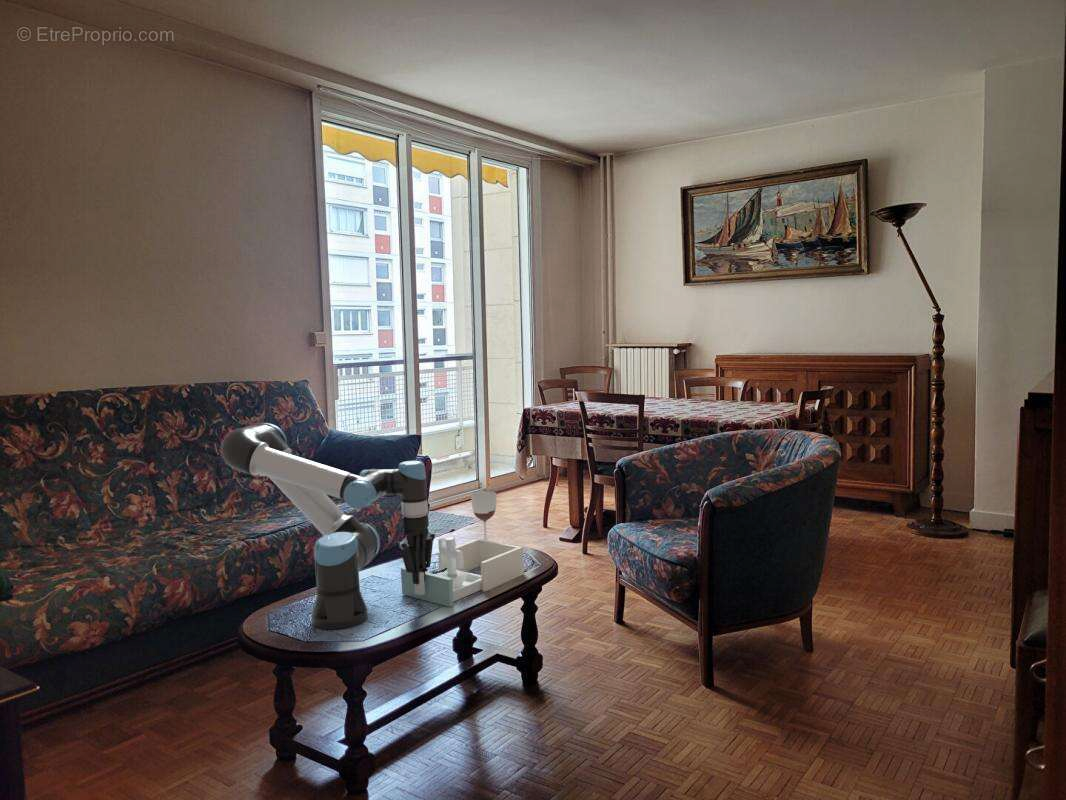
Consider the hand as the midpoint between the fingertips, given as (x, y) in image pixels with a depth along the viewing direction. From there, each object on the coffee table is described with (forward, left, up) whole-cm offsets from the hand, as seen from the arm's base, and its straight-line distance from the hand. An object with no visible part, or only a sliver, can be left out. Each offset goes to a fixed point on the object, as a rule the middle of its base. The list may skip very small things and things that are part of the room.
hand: (420, 593), depth 226 cm
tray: (+10, +8, -3) cm, 13 cm away
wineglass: (+29, +39, -3) cm, 49 cm away
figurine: (+11, +9, -2) cm, 14 cm away
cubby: (+22, +17, -3) cm, 28 cm away
